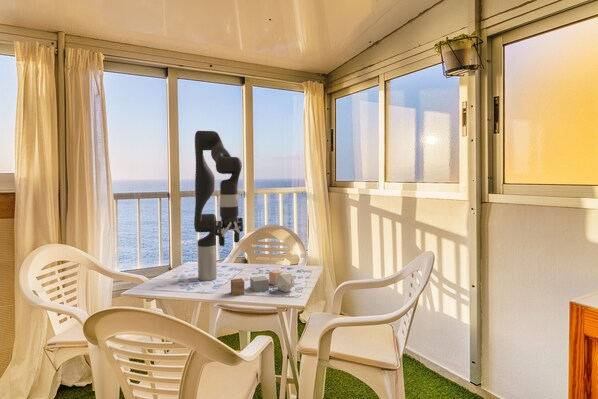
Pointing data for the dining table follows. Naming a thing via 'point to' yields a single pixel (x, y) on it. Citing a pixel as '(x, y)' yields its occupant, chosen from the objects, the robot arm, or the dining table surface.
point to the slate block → (259, 283)
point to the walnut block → (237, 286)
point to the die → (284, 282)
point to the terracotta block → (273, 276)
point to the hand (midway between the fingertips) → (229, 243)
